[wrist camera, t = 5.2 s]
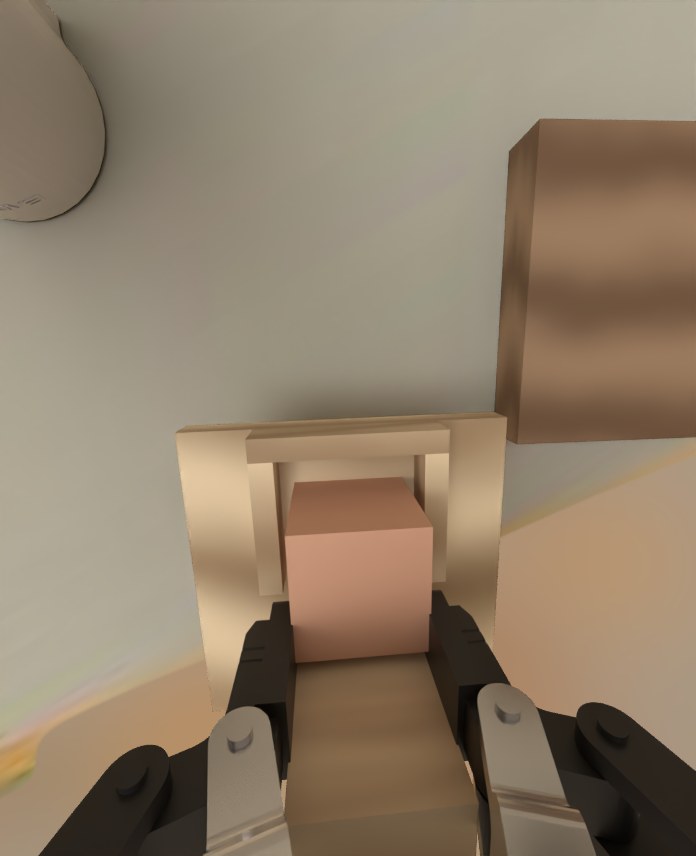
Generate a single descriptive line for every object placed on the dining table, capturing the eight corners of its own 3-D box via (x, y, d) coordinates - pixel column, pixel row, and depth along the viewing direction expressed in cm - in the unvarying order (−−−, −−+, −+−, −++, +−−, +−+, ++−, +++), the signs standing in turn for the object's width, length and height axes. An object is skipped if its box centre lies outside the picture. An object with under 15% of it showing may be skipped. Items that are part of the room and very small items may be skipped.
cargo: (294, 482, 14) (284, 536, 10) (401, 476, 14) (432, 526, 10) (300, 578, 15) (293, 663, 11) (401, 571, 15) (430, 651, 11)
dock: (509, 151, 21) (541, 117, 18) (775, 154, 22) (848, 122, 19) (493, 432, 24) (518, 444, 21) (726, 424, 25) (782, 433, 22)
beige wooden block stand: (186, 425, 14) (-8, 544, 6) (492, 411, 15) (716, 496, 7) (220, 686, 17) (120, 1030, 8) (479, 662, 18) (628, 954, 9)
